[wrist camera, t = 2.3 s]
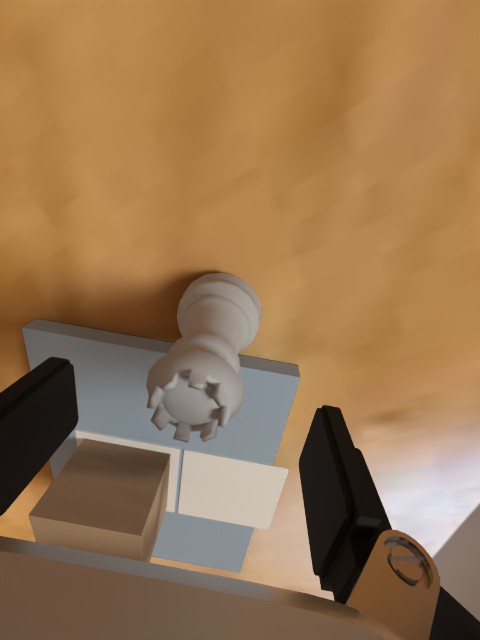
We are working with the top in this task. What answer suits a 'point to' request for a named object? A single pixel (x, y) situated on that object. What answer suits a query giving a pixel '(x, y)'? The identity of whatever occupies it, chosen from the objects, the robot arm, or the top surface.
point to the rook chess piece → (205, 358)
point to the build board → (185, 458)
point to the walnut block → (105, 501)
